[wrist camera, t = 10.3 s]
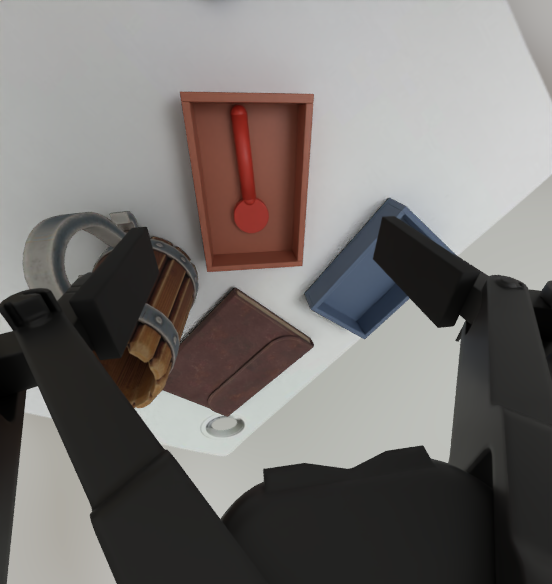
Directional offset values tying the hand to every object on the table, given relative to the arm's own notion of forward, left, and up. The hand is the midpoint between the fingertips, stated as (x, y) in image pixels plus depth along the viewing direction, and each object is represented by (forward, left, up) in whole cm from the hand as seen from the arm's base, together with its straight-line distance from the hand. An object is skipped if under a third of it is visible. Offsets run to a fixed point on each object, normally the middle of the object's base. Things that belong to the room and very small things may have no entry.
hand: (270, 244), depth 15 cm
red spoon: (+1, -1, -14) cm, 14 cm away
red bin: (0, 0, -15) cm, 15 cm away
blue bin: (-15, +11, -15) cm, 23 cm away
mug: (+12, +7, -15) cm, 21 cm away
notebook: (+4, +24, -15) cm, 28 cm away
